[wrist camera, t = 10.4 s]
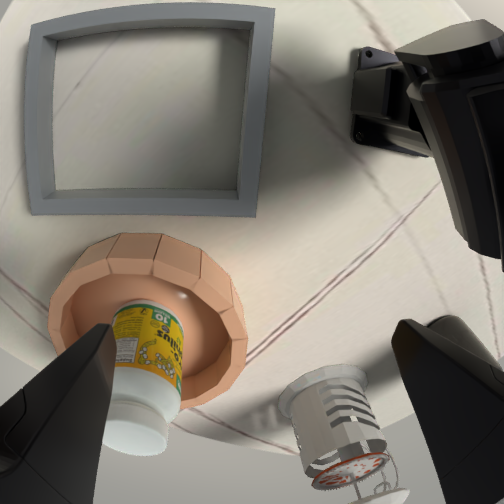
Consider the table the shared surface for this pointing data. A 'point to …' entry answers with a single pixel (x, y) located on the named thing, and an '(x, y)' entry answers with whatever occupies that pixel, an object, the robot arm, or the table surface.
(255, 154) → the open rectangular frame
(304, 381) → the french press
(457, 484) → the robot arm
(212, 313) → the bowl
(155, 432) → the supplement bottle
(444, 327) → the supplement bottle
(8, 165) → the table surface
